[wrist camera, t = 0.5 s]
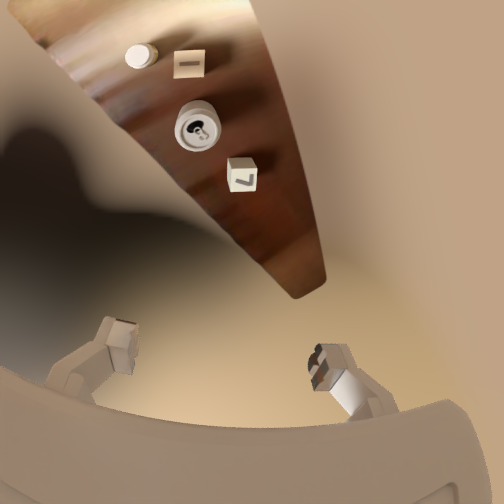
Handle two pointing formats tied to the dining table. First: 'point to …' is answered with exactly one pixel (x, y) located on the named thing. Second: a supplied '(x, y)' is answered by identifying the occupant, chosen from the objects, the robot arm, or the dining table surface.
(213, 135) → the can
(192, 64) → the birch block one
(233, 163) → the cream white block seven
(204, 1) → the dining table surface
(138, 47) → the supplement bottle
